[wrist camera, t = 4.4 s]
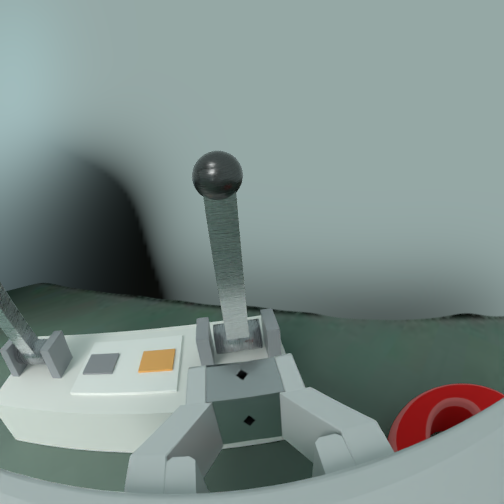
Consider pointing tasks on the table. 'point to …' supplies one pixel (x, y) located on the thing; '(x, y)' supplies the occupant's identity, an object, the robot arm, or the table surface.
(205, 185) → the lever
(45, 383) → the switch unit
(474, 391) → the decorative ornament
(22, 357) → the lever
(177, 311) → the table surface
